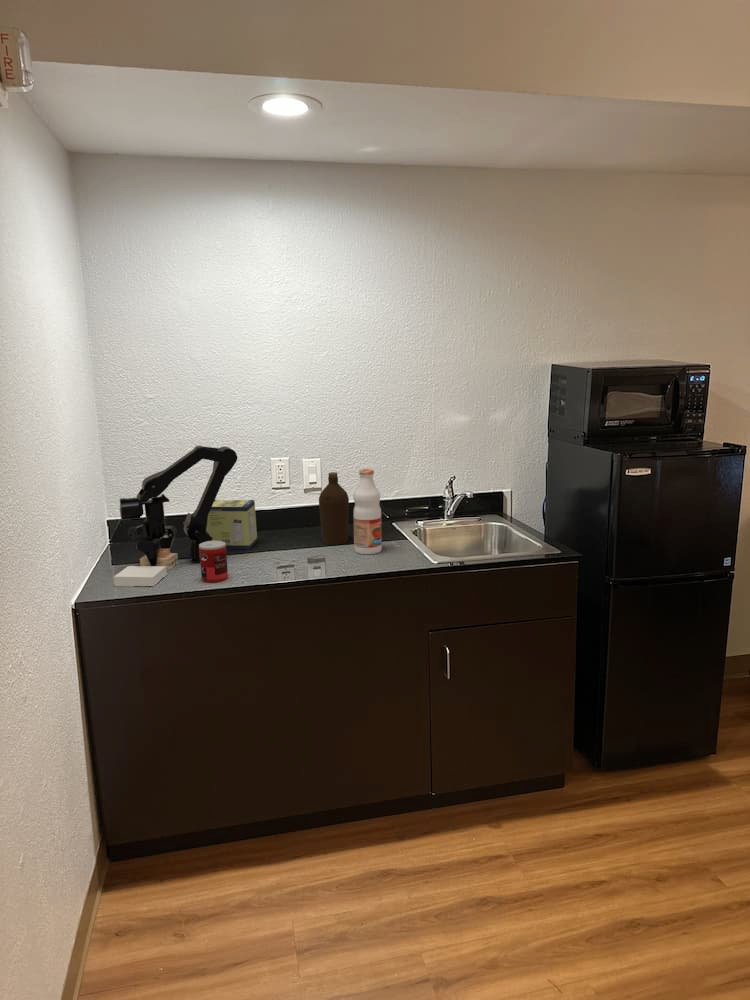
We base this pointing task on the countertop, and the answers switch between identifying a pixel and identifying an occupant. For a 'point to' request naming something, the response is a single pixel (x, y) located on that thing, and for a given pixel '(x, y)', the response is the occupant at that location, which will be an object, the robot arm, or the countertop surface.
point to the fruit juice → (367, 515)
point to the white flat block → (140, 576)
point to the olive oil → (334, 512)
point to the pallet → (162, 561)
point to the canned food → (213, 561)
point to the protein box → (233, 523)
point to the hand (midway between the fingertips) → (159, 563)
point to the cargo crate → (164, 552)
